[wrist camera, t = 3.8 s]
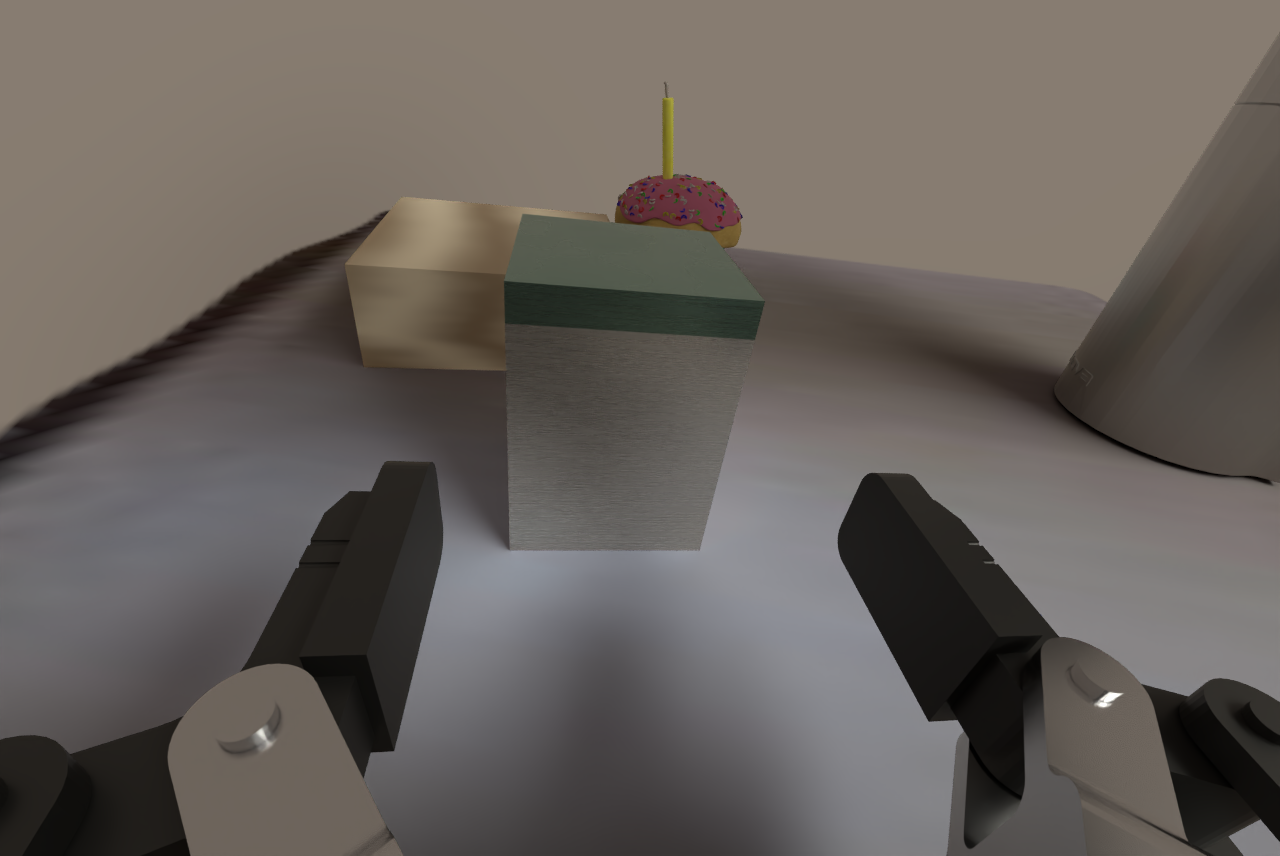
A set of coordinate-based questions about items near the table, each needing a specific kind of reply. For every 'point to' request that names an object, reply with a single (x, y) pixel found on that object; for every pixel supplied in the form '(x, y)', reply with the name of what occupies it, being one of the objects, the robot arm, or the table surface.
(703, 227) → the cupcake
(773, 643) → the table surface
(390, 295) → the birch box
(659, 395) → the tea tin
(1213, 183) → the robot arm
